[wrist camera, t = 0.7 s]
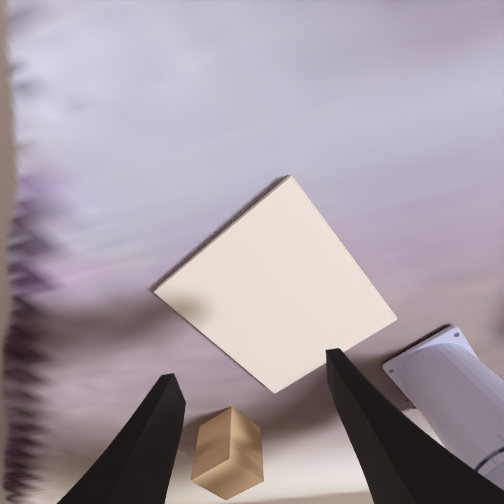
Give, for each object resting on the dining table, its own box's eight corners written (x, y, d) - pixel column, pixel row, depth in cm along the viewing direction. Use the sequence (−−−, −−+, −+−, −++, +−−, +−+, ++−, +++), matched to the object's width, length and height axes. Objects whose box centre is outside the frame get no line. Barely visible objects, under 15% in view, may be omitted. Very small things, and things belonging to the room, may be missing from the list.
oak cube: (260, 426, 28) (263, 480, 23) (228, 445, 29) (225, 500, 24) (231, 405, 26) (229, 458, 22) (199, 425, 27) (190, 480, 23)
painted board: (391, 312, 22) (397, 319, 21) (273, 385, 25) (274, 393, 24) (289, 174, 17) (291, 175, 16) (158, 286, 20) (153, 292, 19)
